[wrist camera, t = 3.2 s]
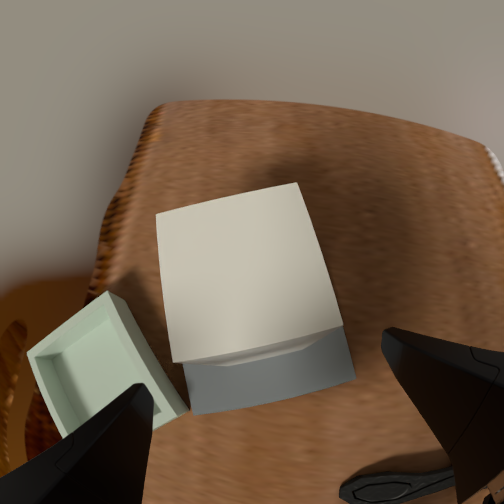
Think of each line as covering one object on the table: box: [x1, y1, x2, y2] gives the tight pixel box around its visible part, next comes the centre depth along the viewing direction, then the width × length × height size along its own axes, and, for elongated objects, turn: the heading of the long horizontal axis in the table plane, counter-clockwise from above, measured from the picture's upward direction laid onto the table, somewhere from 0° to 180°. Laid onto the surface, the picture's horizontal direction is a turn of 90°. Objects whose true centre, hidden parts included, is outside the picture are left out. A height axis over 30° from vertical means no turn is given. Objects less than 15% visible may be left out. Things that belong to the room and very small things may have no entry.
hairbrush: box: [339, 466, 487, 504], centre depth 14 cm, size 8×4×25 cm
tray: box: [27, 291, 190, 438], centre depth 19 cm, size 11×11×3 cm
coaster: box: [183, 326, 356, 415], centre depth 21 cm, size 12×12×1 cm
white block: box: [156, 182, 343, 366], centre depth 15 cm, size 6×6×12 cm
